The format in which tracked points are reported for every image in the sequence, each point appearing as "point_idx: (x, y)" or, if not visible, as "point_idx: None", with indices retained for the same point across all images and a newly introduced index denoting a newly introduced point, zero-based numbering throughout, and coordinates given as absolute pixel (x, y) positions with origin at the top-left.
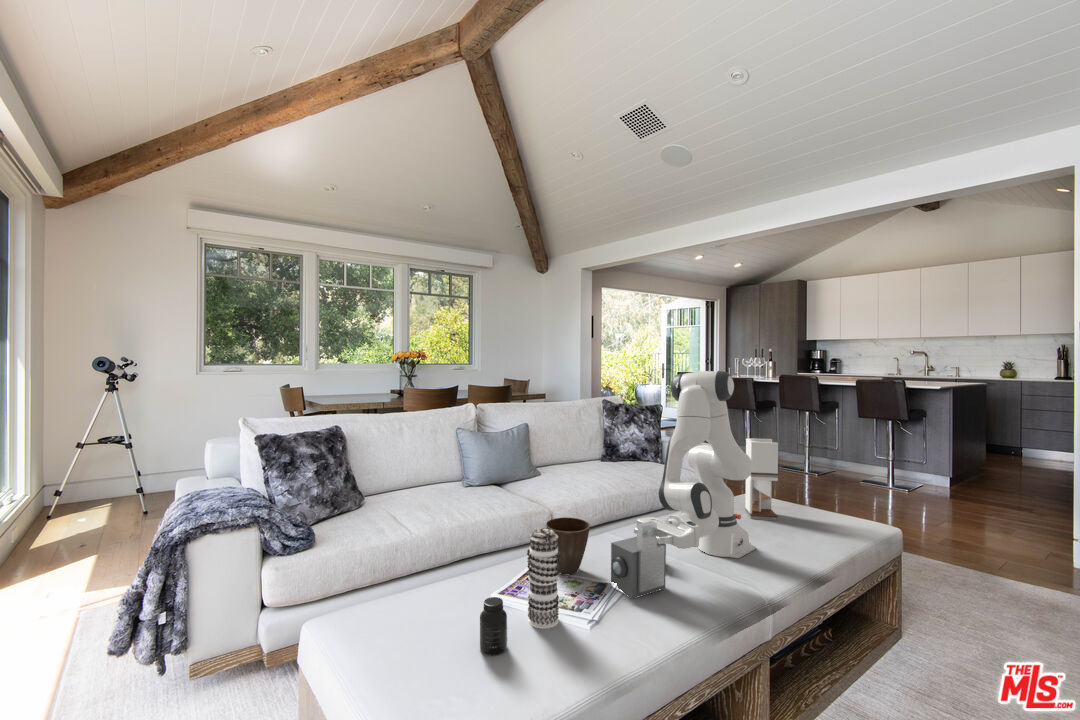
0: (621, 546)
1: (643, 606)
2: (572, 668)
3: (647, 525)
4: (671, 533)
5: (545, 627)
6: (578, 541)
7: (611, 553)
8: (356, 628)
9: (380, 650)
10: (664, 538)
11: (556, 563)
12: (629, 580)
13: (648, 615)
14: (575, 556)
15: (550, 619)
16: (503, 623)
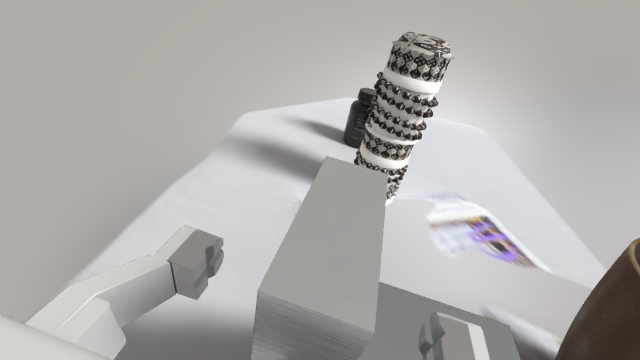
0: (435, 309)
1: (251, 341)
2: (267, 143)
3: (311, 185)
4: (26, 332)
5: None
6: (612, 312)
7: None
8: (456, 131)
9: None
10: (141, 263)
11: (384, 103)
12: None
13: (220, 301)
14: (575, 347)
15: None
16: (350, 109)
